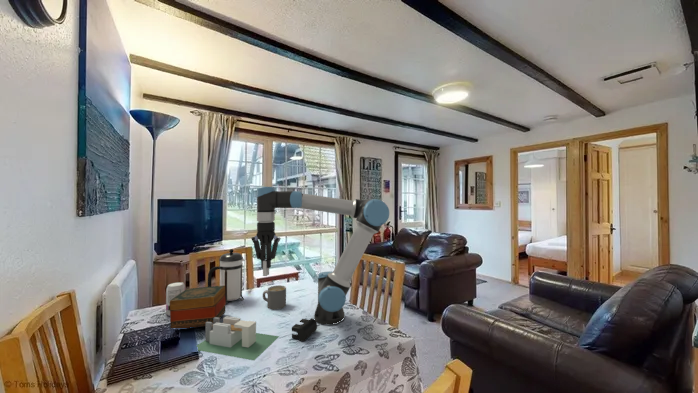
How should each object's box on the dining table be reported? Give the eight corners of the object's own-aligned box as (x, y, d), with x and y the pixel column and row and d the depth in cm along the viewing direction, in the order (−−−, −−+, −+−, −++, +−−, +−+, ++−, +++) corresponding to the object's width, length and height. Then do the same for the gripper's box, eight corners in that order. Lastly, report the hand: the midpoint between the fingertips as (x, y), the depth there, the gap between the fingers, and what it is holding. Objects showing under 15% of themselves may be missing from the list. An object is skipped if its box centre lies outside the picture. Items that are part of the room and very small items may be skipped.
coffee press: (224, 295, 170) (225, 246, 170) (249, 296, 168) (249, 247, 168) (206, 305, 153) (207, 251, 153) (233, 307, 150) (233, 252, 151)
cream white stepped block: (255, 341, 113) (256, 321, 113) (248, 347, 108) (248, 327, 108) (241, 338, 115) (241, 319, 115) (233, 345, 110) (233, 325, 110)
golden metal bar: (247, 329, 112) (247, 325, 112) (243, 332, 110) (243, 328, 110) (213, 325, 117) (213, 321, 117) (209, 327, 114) (209, 324, 114)
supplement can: (162, 315, 140) (162, 285, 141) (177, 309, 148) (177, 281, 148) (173, 317, 137) (173, 287, 137) (188, 311, 145) (188, 283, 145)
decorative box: (212, 335, 122) (217, 297, 123) (160, 332, 120) (166, 294, 121) (229, 318, 142) (233, 285, 143) (185, 315, 140) (189, 282, 142)
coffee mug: (289, 304, 155) (289, 286, 155) (278, 311, 146) (278, 292, 146) (270, 300, 161) (270, 283, 161) (258, 306, 152) (258, 288, 152)
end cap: (305, 345, 112) (305, 329, 112) (291, 342, 115) (291, 325, 115) (317, 334, 122) (317, 319, 122) (303, 331, 124) (303, 316, 124)
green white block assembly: (279, 339, 117) (279, 317, 117) (254, 363, 100) (254, 338, 100) (223, 330, 124) (223, 310, 125) (191, 352, 107) (191, 328, 107)
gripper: (283, 221, 123) (283, 273, 123) (256, 220, 126) (256, 272, 126) (275, 222, 116) (275, 278, 116) (247, 222, 119) (247, 276, 118)
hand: (266, 275), depth 121 cm, fingers closed
